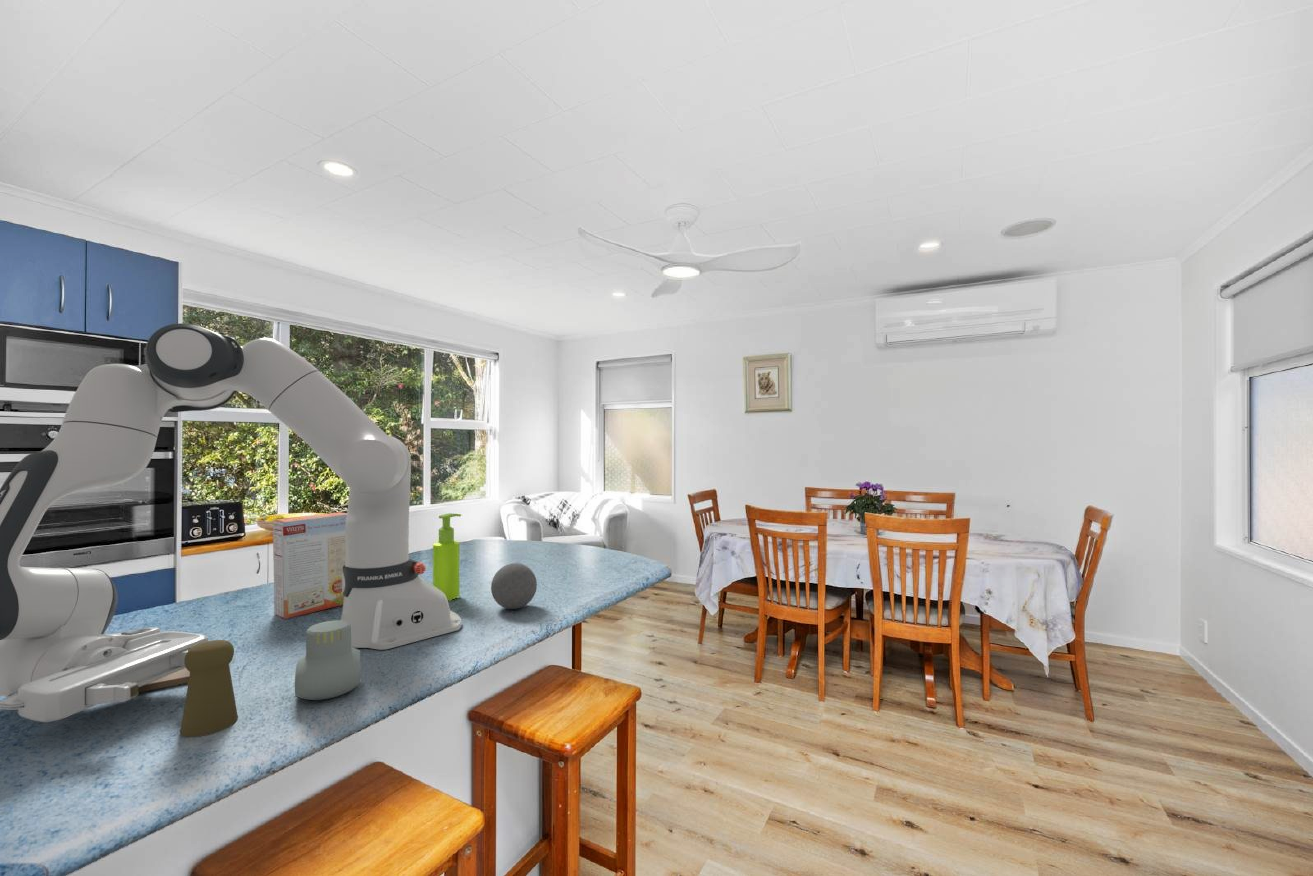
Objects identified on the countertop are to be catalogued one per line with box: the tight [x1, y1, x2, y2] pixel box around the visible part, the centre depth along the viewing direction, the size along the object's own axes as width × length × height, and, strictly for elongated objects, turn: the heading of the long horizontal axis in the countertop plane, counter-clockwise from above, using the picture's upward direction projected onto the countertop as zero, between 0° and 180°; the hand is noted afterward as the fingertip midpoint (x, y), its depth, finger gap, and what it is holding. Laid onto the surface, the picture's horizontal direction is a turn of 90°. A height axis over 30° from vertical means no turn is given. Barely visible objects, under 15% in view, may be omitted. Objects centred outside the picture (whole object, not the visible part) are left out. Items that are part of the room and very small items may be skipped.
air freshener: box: [294, 619, 362, 701], centre depth 84 cm, size 11×8×10 cm
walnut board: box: [137, 668, 190, 693], centre depth 89 cm, size 12×12×1 cm
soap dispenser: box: [432, 513, 462, 601], centre depth 133 cm, size 6×7×20 cm
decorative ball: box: [490, 562, 538, 610], centre depth 125 cm, size 10×10×10 cm
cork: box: [179, 639, 239, 738], centre depth 74 cm, size 6×6×11 cm
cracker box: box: [272, 511, 347, 620], centre depth 124 cm, size 14×6×21 cm, turn 144°
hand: (170, 676), depth 75 cm, fingers open, 8 cm apart
